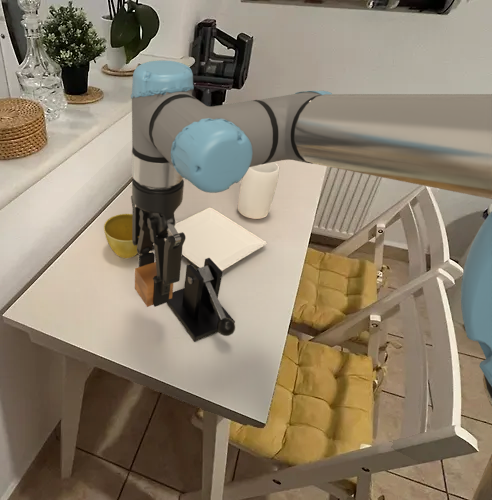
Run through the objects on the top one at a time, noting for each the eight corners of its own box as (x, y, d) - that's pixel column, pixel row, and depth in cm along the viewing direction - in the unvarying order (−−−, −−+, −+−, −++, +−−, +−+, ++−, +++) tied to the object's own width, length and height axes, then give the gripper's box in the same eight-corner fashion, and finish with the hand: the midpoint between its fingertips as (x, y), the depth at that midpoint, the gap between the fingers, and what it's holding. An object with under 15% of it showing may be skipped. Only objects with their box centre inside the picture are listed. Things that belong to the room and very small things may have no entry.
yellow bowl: (156, 248, 100) (158, 223, 96) (132, 272, 94) (132, 247, 89) (122, 232, 105) (121, 208, 100) (96, 254, 98) (94, 230, 94)
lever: (233, 333, 78) (241, 330, 75) (218, 339, 77) (226, 336, 74) (204, 269, 81) (211, 263, 78) (190, 273, 80) (196, 268, 77)
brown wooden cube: (172, 298, 76) (174, 277, 73) (147, 307, 74) (147, 286, 71) (159, 280, 79) (160, 260, 76) (134, 288, 78) (134, 268, 74)
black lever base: (234, 325, 83) (244, 282, 75) (194, 342, 80) (201, 298, 72) (200, 286, 91) (207, 243, 84) (163, 299, 88) (166, 255, 80)
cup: (234, 220, 109) (244, 171, 100) (236, 202, 116) (245, 155, 107) (268, 225, 108) (281, 176, 99) (268, 207, 114) (280, 159, 105)
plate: (154, 239, 103) (155, 232, 102) (209, 212, 112) (210, 206, 111) (210, 283, 92) (211, 276, 91) (266, 249, 101) (268, 242, 100)
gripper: (215, 202, 57) (198, 320, 72) (152, 147, 69) (149, 257, 84) (165, 216, 54) (158, 335, 69) (109, 156, 67) (113, 268, 81)
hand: (153, 292), depth 76 cm, fingers closed on brown wooden cube, 5 cm apart
